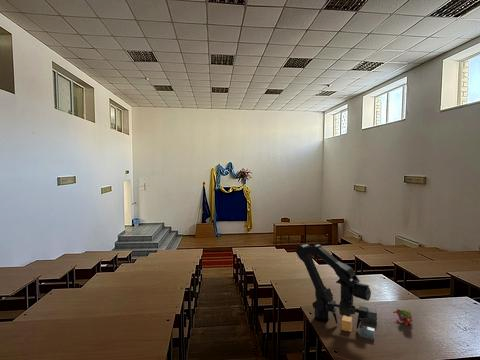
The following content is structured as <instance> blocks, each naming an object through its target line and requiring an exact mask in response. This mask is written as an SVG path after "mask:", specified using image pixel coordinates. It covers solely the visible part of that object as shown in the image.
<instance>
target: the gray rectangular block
mask: <svg viewBox="0 0 480 360" xmlns="http://www.w3.org/2000/svg"><path fill="white" fill-rule="evenodd" d="M359 337H361V338H365V339H370V340H373V341H375V337H376V336H375V328H374V327H370V326H366V325H363V324H359Z"/></svg>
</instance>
